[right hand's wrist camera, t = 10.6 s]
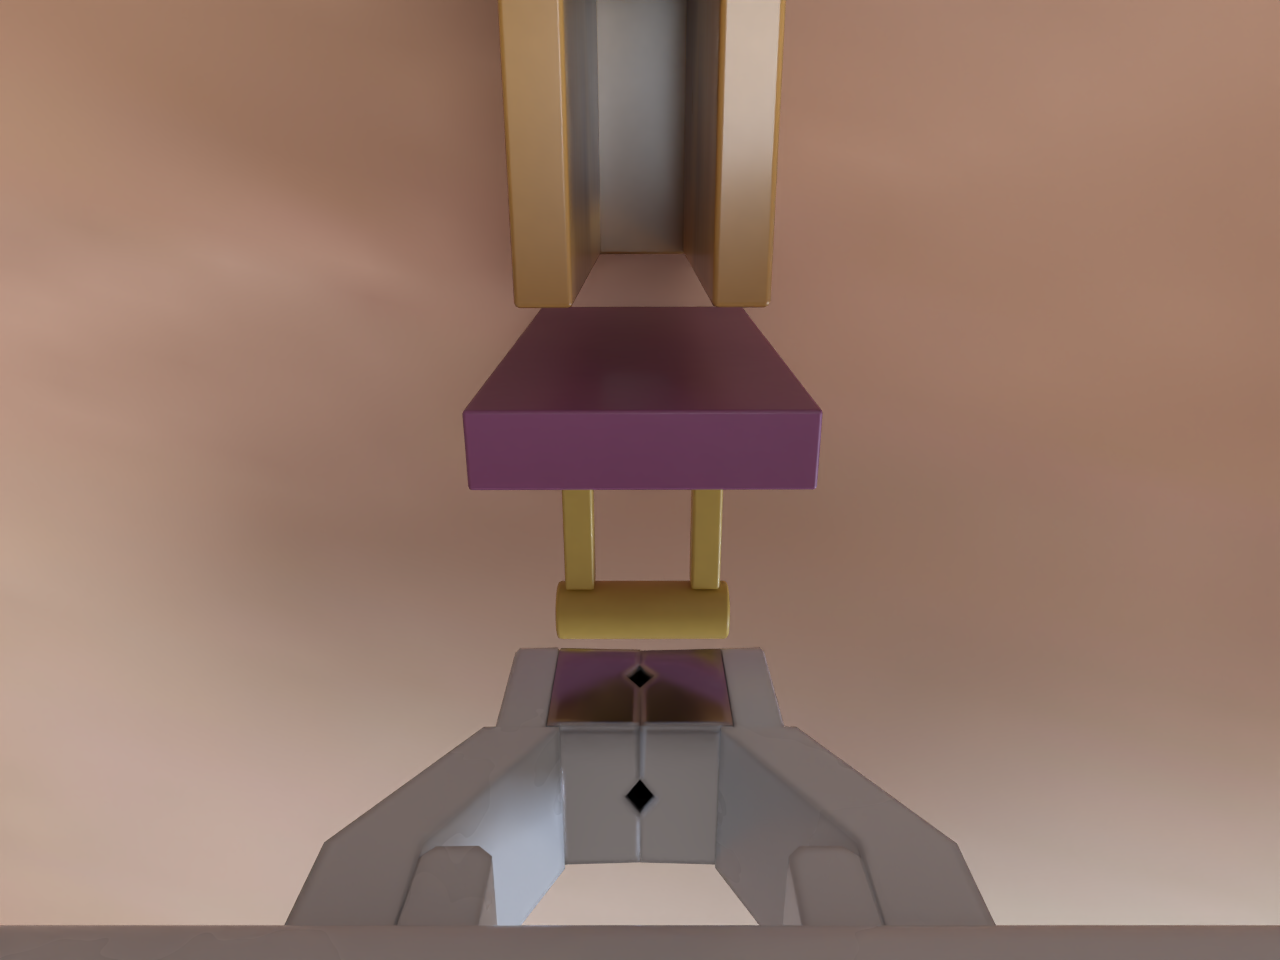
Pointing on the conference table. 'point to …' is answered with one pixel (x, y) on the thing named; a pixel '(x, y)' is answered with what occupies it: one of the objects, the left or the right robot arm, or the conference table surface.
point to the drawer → (642, 336)
